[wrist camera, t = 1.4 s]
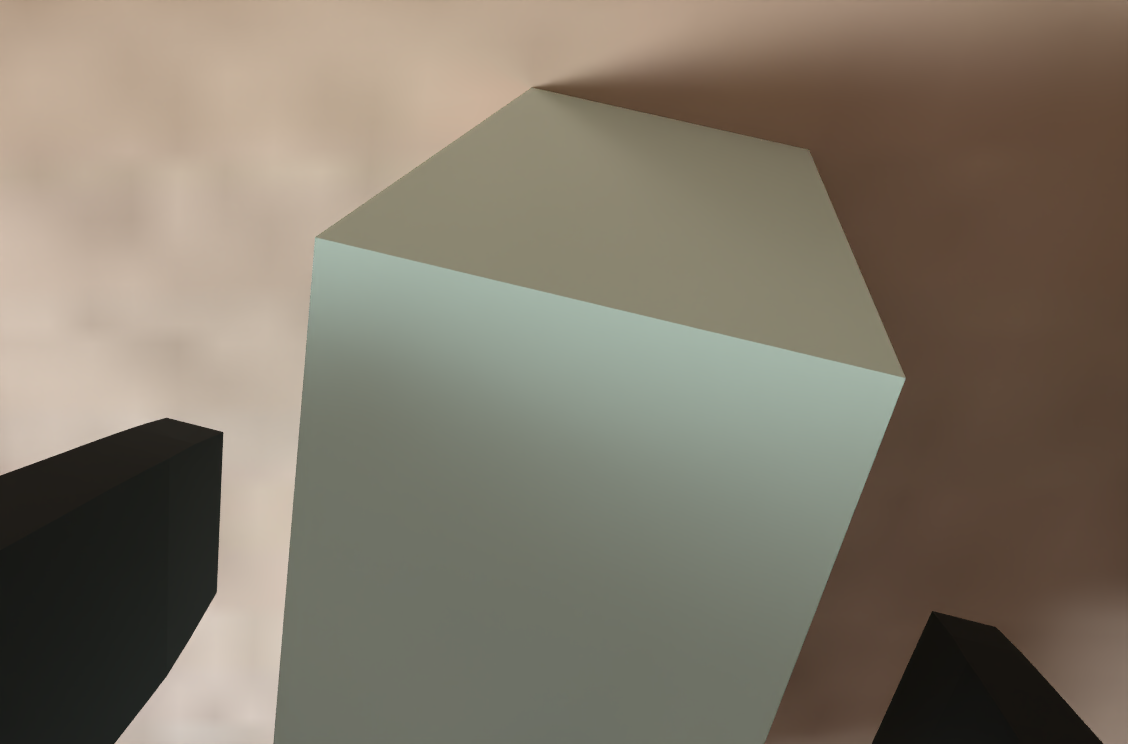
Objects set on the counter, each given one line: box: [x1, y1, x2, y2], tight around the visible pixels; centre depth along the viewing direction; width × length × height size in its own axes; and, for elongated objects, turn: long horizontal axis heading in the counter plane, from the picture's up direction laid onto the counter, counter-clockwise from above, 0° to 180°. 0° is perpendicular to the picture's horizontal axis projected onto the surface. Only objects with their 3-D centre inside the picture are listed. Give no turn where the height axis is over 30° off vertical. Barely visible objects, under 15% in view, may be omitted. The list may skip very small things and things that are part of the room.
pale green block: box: [274, 87, 906, 744], centre depth 9 cm, size 9×3×6 cm, turn 169°
